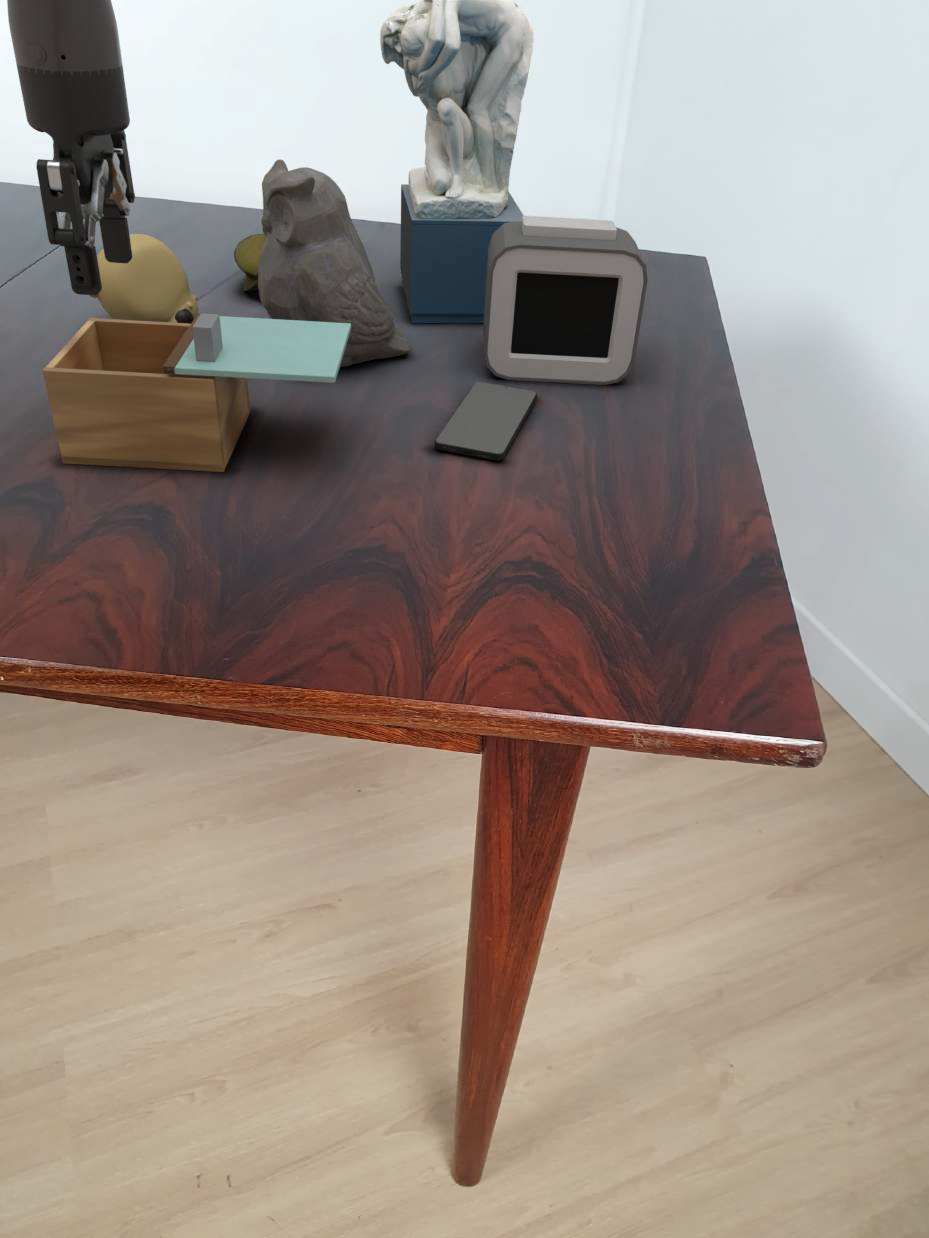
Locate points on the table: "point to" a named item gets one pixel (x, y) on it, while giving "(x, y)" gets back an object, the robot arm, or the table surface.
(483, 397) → the smartphone
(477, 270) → the sculpture
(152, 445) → the maple box
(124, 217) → the robot arm
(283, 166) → the figurine
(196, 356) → the mint sliding box lid
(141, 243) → the toy pig
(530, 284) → the alarm clock
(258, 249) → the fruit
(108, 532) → the table surface
